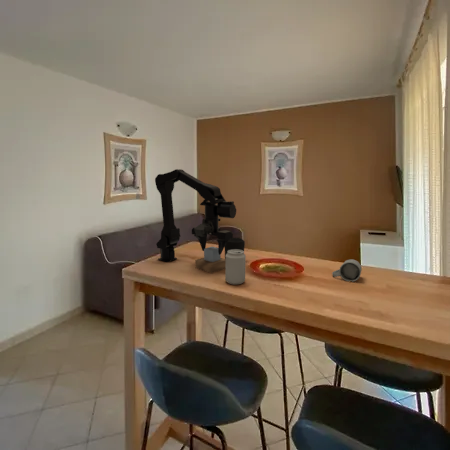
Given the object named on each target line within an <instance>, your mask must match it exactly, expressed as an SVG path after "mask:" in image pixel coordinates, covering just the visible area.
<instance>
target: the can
mask: <svg viewBox="0 0 450 450" xmlns="http://www.w3.org/2000/svg"><path fill="white" fill-rule="evenodd" d="M227 252H228V253H227V254H226V269H224V271H225V273H224V274H225V276H224V277H225V282H227V284H230V285H236V286H237V285H241V284H243V283H244V282H245V281H246V263H247V261H246V259H247V258H246V257H247V256H246V254H245V250H244V251H242V250H235V249H234V250H228V251H227Z"/></svg>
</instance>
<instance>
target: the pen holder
mask: <svg viewBox="0 0 450 450" xmlns="http://www.w3.org/2000/svg"><path fill="white" fill-rule="evenodd" d="M245 244H246V242H245V240H244V239H243V238H241V237H233V238H230V240H228V241H227V243H226V245H225V247H224V259H226V254H227V253H228V252H227V251H228V250H234V249H235V250H242V251H244V252H245V246H246V245H245Z"/></svg>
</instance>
